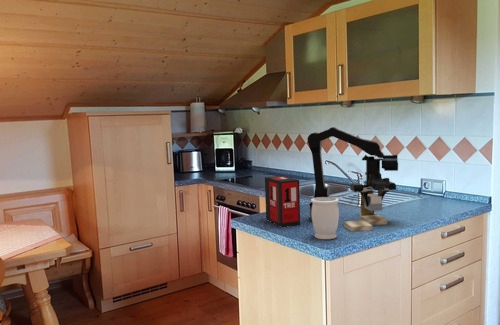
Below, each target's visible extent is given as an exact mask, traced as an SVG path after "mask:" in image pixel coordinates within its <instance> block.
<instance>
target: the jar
mask: <svg viewBox="0 0 500 325" xmlns="http://www.w3.org/2000/svg"><path fill="white" fill-rule="evenodd" d="M310 200H311V201H310V203H311V202H312V203H313V205H312V211H311V216H312V221H311V222H312V226H313V230H314V232H315V233H314V237H315V238H316V239H318V240H332V239H336V238H337V237H338V236H337V233H336V232H337V230H338V226H339V220H340V209H339V205H338V203H339V198H336V197H330V196H329V197H318V198H314V197H313V198H311V199H310Z"/></svg>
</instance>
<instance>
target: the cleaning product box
mask: <svg viewBox="0 0 500 325" xmlns="http://www.w3.org/2000/svg"><path fill="white" fill-rule="evenodd" d="M264 192H265V193H264V196H265V220H266V219H267V220H269V221H271V222H273V223H275V224H277V225H279V226H281V227H285V228H288V227H287V226H292V227H298V226H297V225H299V226H301V204H300V203H301V202H300V201H301V200H300V198H301V197H300V196H301V194H300V179H297V178H294V177H289V176H285V175H274V176H265V177H264ZM267 220H266V221H267ZM269 221H268V222H269ZM271 222H270V223H271ZM273 223H272V224H273ZM275 224H274V225H275ZM277 225H276V226H277ZM279 226H278V227H279ZM281 227H280V228H281Z"/></svg>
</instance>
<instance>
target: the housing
mask: <svg viewBox="0 0 500 325" xmlns="http://www.w3.org/2000/svg"><path fill="white" fill-rule="evenodd" d="M367 196H368V207H366V205H365V202H364V208H366V209H368V210H370V211H374V212H379V211H383V202H382V201H383V200H382V196H379V195H378V193H373V194H368V195H367Z"/></svg>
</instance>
